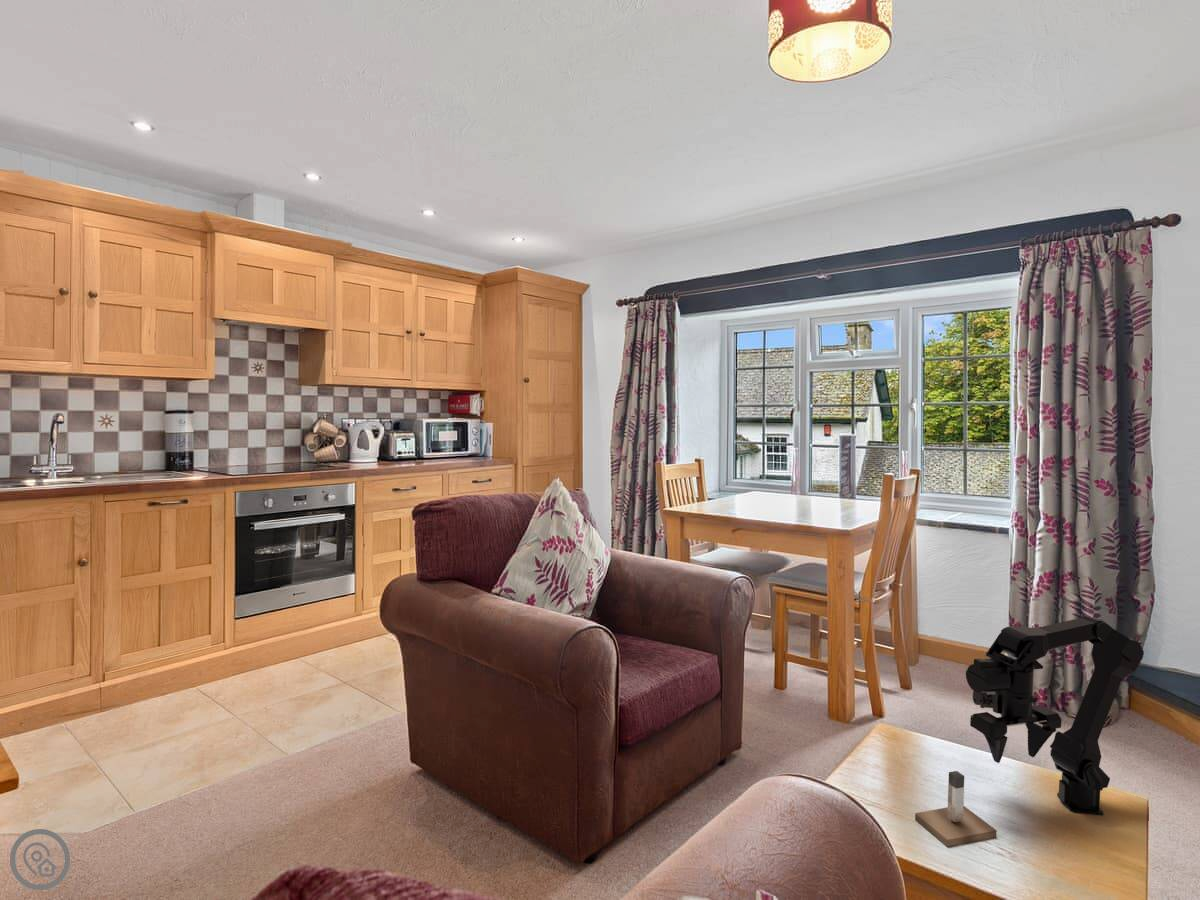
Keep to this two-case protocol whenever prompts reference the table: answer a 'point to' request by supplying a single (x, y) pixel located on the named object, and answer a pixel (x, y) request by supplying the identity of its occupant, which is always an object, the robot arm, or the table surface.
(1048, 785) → the table surface
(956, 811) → the arm
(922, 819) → the stand
